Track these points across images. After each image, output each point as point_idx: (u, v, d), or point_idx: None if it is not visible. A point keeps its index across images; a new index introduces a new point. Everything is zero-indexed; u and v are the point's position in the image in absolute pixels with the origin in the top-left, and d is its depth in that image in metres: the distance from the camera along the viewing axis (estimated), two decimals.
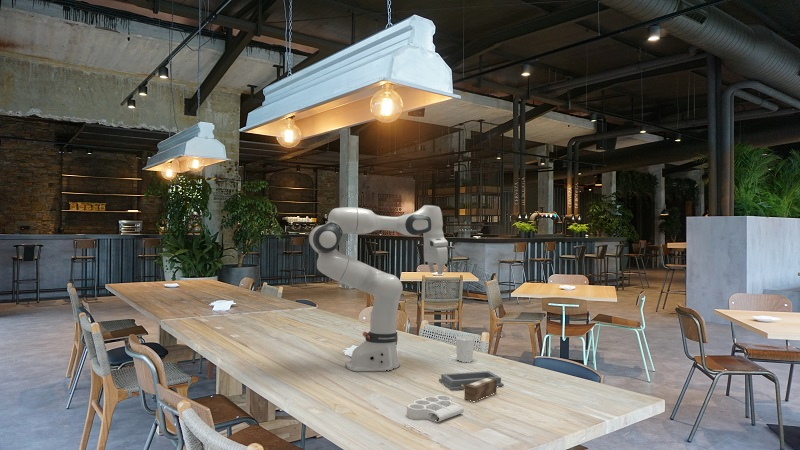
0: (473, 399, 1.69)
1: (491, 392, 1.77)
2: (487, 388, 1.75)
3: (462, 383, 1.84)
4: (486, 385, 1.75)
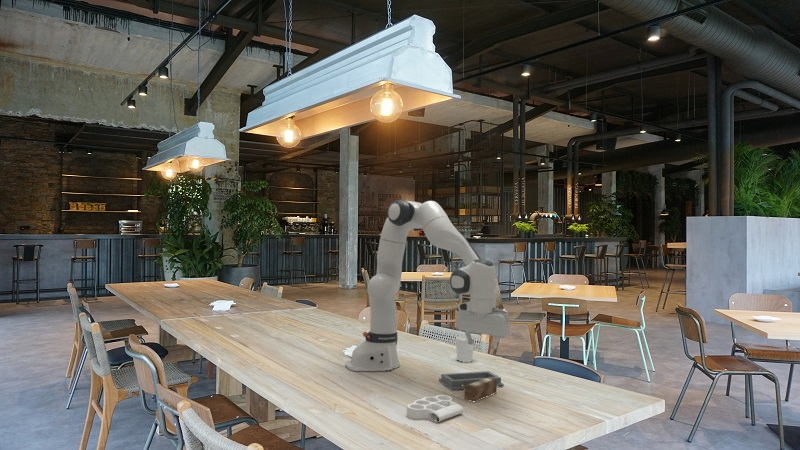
0: (473, 399, 1.69)
1: (491, 392, 1.77)
2: (487, 388, 1.75)
3: (462, 383, 1.84)
4: (486, 385, 1.75)
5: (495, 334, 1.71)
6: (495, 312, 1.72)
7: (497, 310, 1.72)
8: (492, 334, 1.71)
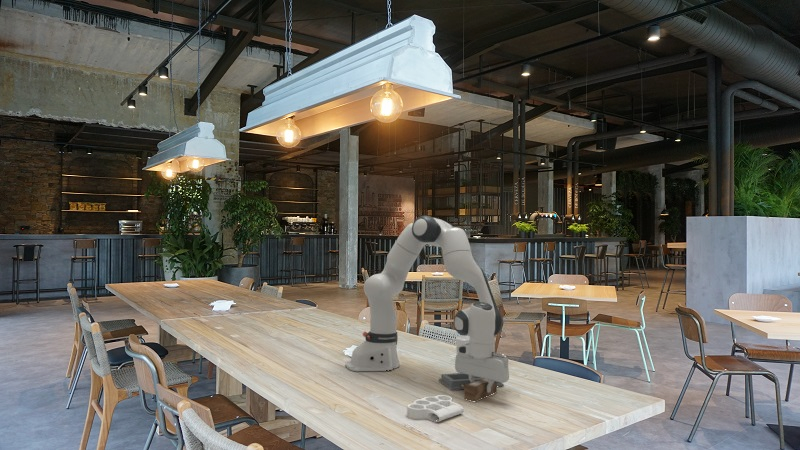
0: (473, 399, 1.69)
1: (491, 392, 1.77)
2: None
3: (462, 383, 1.84)
4: (486, 385, 1.75)
5: (494, 379, 1.70)
6: (494, 356, 1.72)
7: (496, 355, 1.71)
8: (491, 379, 1.71)
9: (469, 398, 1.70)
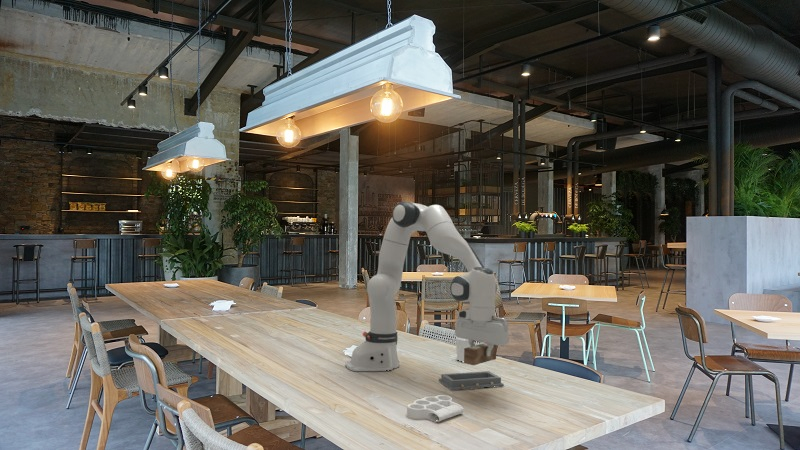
0: (472, 362, 1.69)
1: (491, 356, 1.77)
2: None
3: (462, 383, 1.84)
4: (486, 349, 1.75)
5: (494, 342, 1.70)
6: (494, 320, 1.72)
7: (496, 318, 1.72)
8: (491, 342, 1.71)
9: (469, 361, 1.70)
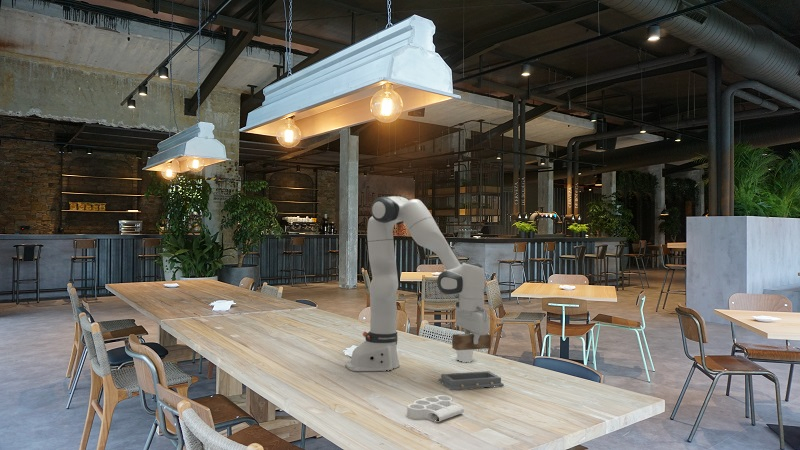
0: (456, 347, 1.86)
1: (482, 345, 1.89)
2: None
3: (462, 383, 1.84)
4: None
5: (475, 331, 1.84)
6: (478, 311, 1.85)
7: (479, 309, 1.84)
8: (474, 331, 1.85)
9: (454, 346, 1.88)
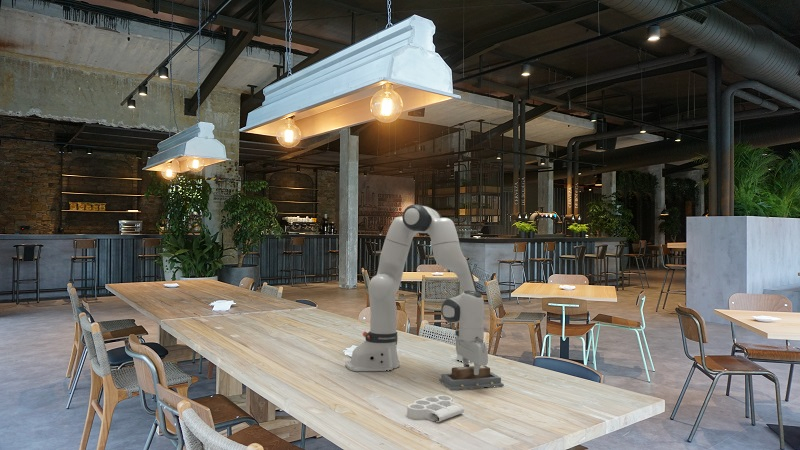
0: None
1: None
2: None
3: (462, 383, 1.84)
4: None
5: (474, 361, 1.83)
6: (477, 341, 1.85)
7: (478, 339, 1.84)
8: (473, 361, 1.85)
9: None
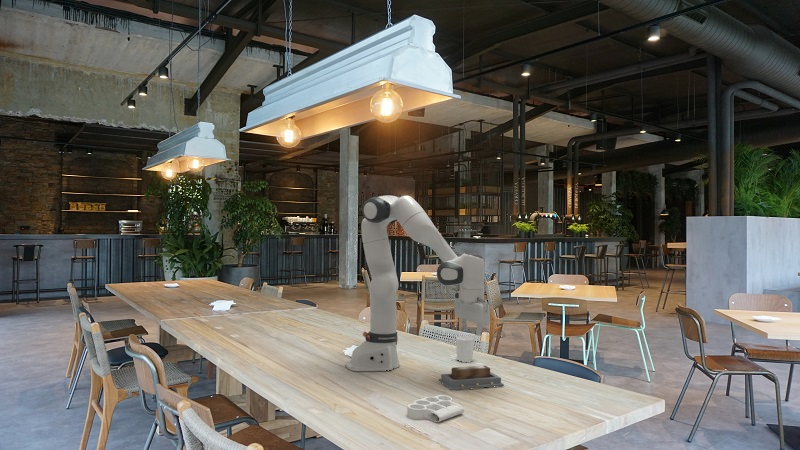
0: None
1: None
2: (475, 374, 1.88)
3: (462, 383, 1.84)
4: (474, 371, 1.88)
5: (476, 321, 1.84)
6: (478, 301, 1.86)
7: (479, 299, 1.85)
8: (474, 321, 1.85)
9: None
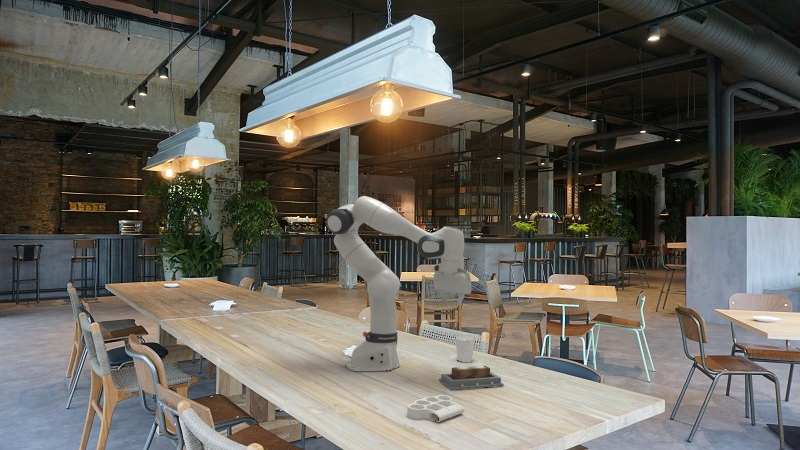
0: None
1: None
2: (475, 374, 1.88)
3: (462, 383, 1.84)
4: (474, 371, 1.88)
5: (458, 291, 1.90)
6: (460, 272, 1.92)
7: (461, 270, 1.91)
8: (456, 291, 1.91)
9: None
